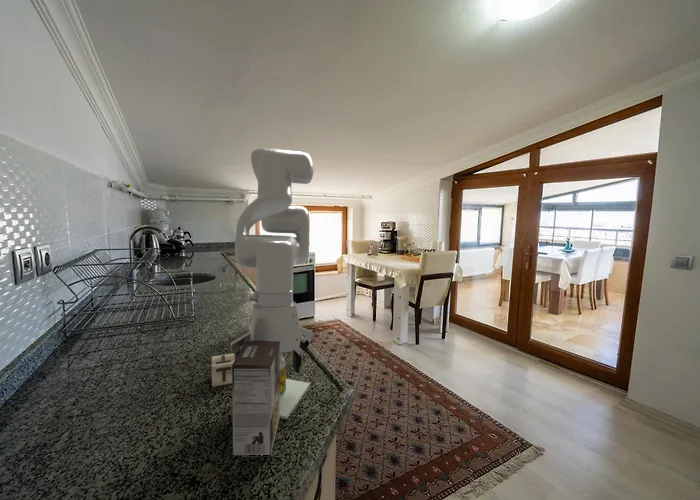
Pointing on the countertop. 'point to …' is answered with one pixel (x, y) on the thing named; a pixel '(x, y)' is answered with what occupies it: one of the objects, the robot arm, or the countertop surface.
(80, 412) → the countertop surface
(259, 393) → the coffee box
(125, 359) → the countertop surface
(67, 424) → the countertop surface
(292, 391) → the sage pad
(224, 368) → the letter cube
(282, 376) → the supplement bottle
